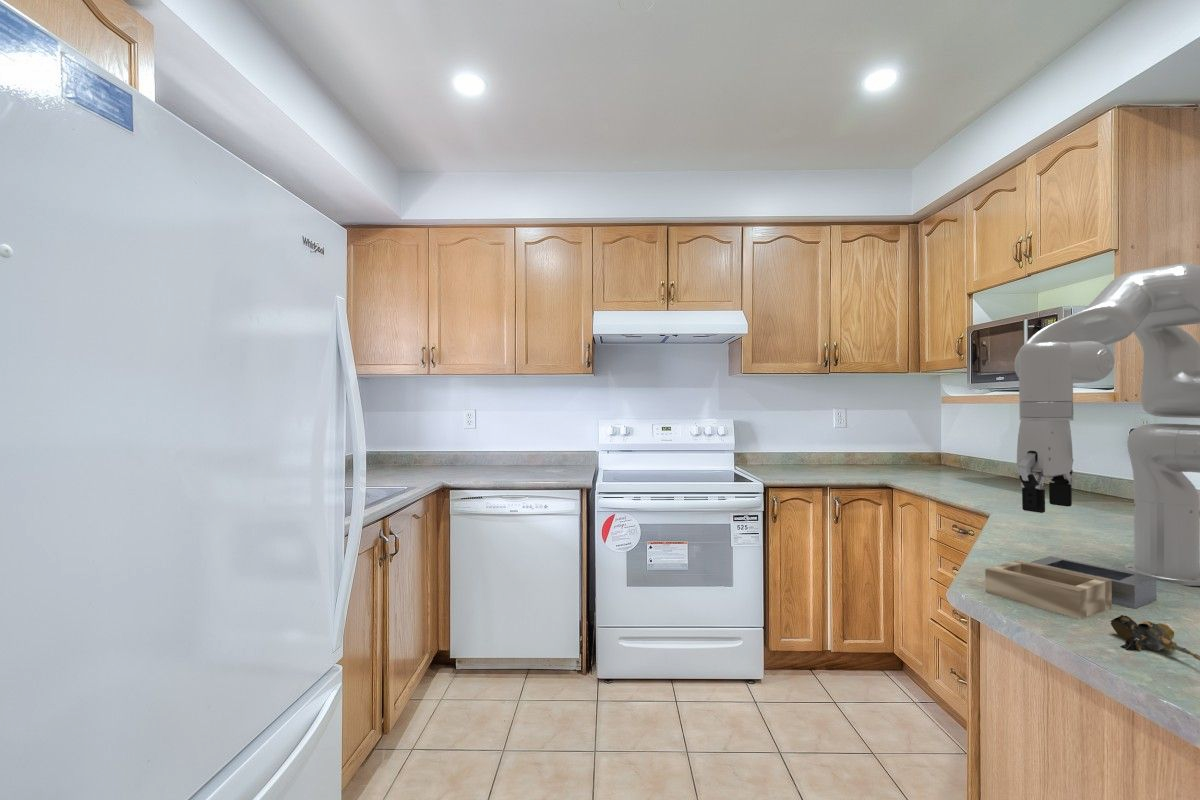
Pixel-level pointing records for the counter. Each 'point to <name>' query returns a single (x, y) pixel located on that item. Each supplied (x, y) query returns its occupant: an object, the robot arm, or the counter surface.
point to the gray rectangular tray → (1112, 581)
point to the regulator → (1146, 635)
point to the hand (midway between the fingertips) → (1047, 508)
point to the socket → (1050, 588)
